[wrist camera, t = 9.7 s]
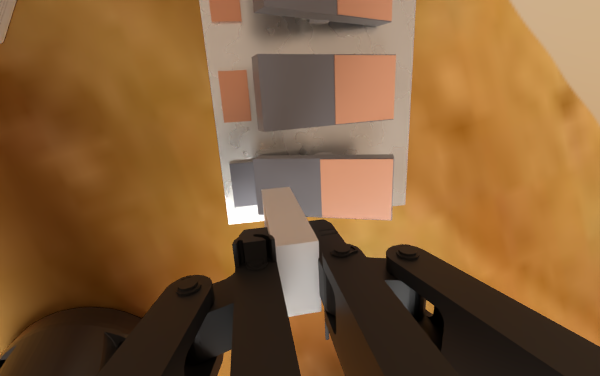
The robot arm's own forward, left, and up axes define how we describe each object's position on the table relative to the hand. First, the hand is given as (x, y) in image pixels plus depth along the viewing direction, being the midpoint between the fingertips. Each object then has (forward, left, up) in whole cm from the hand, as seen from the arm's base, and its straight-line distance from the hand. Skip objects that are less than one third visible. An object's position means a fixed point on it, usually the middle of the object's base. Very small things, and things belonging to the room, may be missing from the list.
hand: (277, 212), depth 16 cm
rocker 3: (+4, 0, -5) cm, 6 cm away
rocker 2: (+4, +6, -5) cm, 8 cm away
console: (+4, +6, -11) cm, 13 cm away
